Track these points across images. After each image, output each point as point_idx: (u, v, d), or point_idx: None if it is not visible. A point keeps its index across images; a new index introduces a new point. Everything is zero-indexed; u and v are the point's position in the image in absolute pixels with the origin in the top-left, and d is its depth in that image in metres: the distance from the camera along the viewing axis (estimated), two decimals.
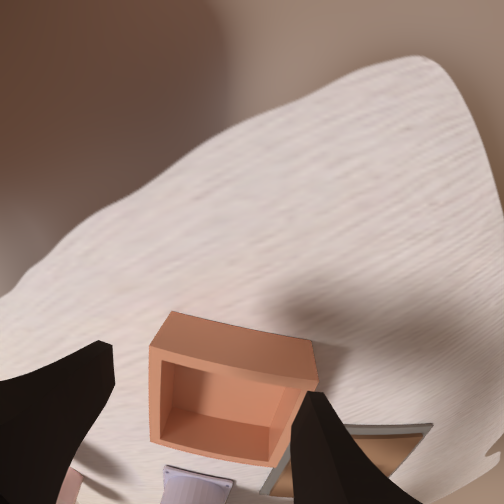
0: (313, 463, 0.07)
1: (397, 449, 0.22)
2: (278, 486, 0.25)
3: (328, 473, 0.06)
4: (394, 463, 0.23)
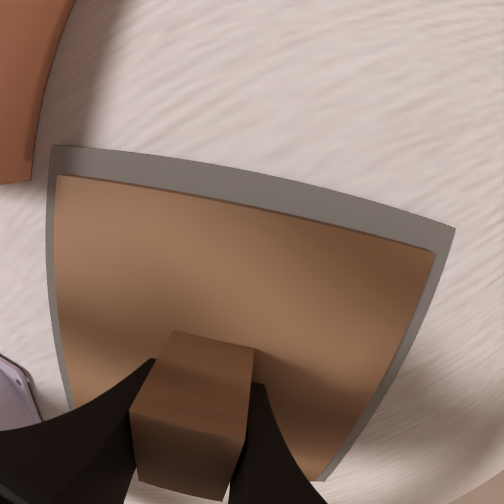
0: (240, 456, 0.07)
1: (359, 297, 0.09)
2: (76, 395, 0.11)
3: (245, 466, 0.06)
4: (363, 371, 0.10)
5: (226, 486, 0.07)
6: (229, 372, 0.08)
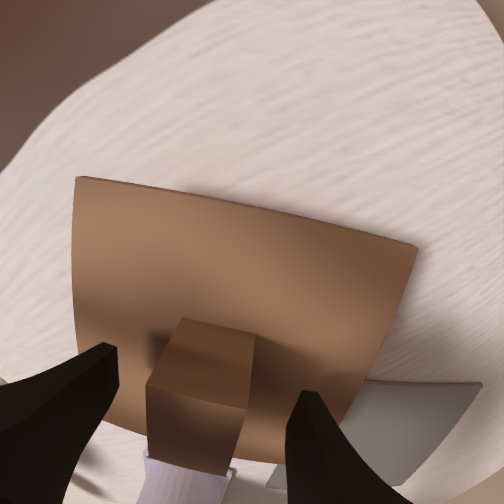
0: (307, 463, 0.07)
1: (349, 287, 0.10)
2: None
3: (320, 473, 0.06)
4: (354, 356, 0.11)
5: (230, 459, 0.08)
6: (233, 353, 0.09)
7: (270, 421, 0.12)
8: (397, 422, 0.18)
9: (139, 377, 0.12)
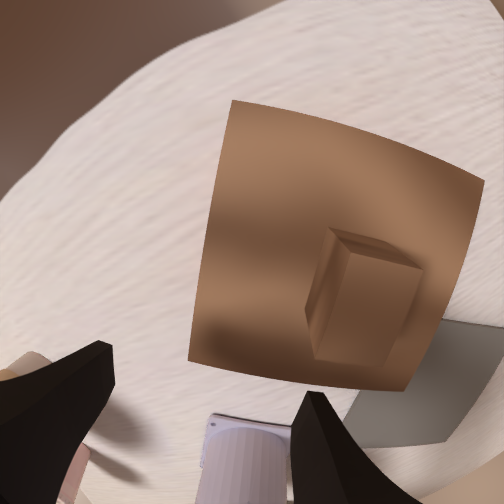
0: (313, 463, 0.07)
1: (446, 204, 0.12)
2: (199, 318, 0.14)
3: (328, 473, 0.06)
4: (449, 264, 0.13)
5: (395, 338, 0.10)
6: (383, 246, 0.11)
7: None
8: (452, 364, 0.20)
9: (268, 298, 0.14)
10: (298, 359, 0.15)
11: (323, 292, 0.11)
